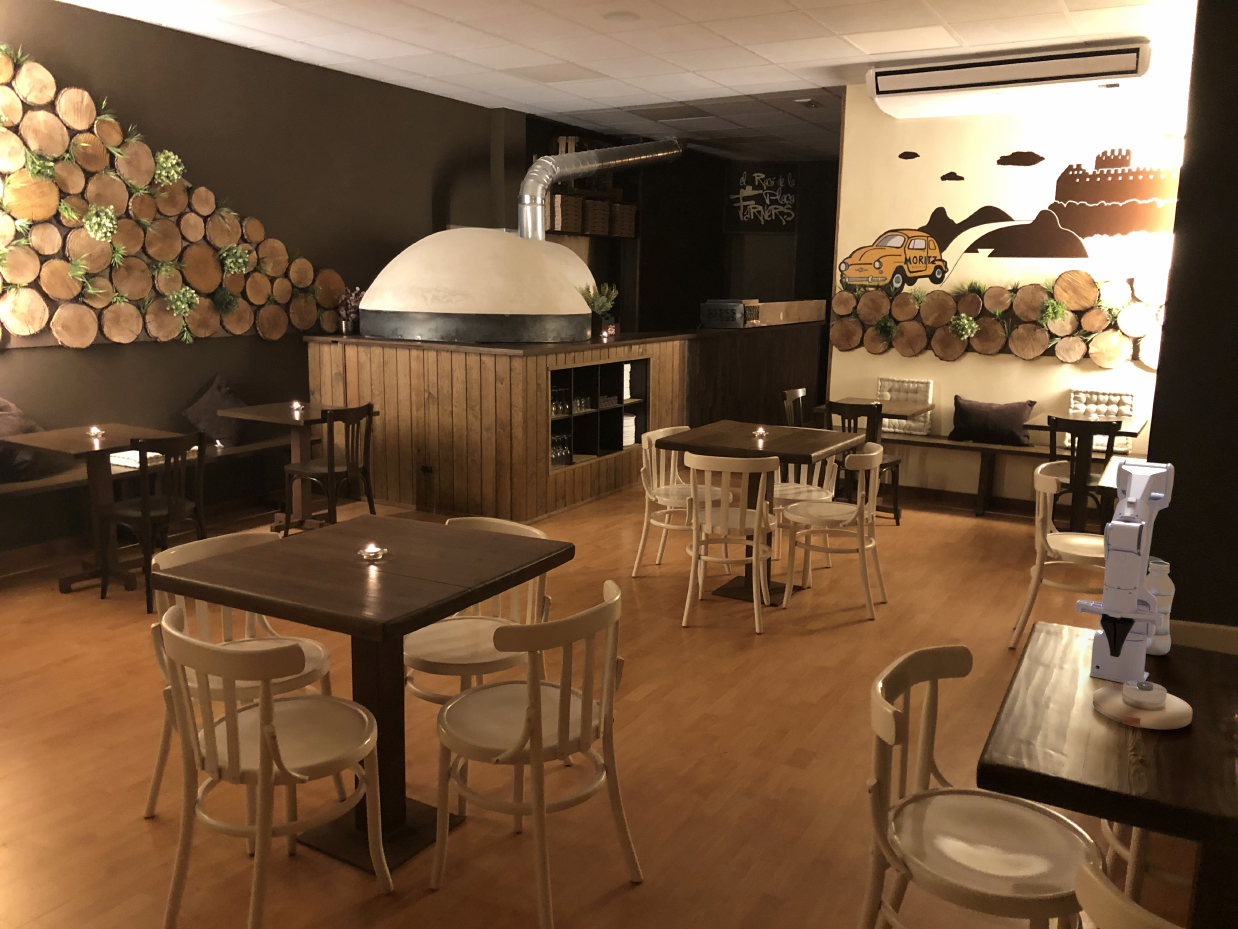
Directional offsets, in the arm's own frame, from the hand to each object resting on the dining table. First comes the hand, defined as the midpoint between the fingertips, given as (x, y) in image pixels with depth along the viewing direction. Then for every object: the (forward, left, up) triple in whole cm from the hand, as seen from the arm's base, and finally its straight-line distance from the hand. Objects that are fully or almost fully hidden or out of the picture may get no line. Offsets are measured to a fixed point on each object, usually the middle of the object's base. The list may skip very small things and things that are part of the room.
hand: (1115, 655), depth 182 cm
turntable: (+5, -3, -9) cm, 11 cm away
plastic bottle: (+1, +33, -10) cm, 34 cm away
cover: (+6, -3, -7) cm, 10 cm away
